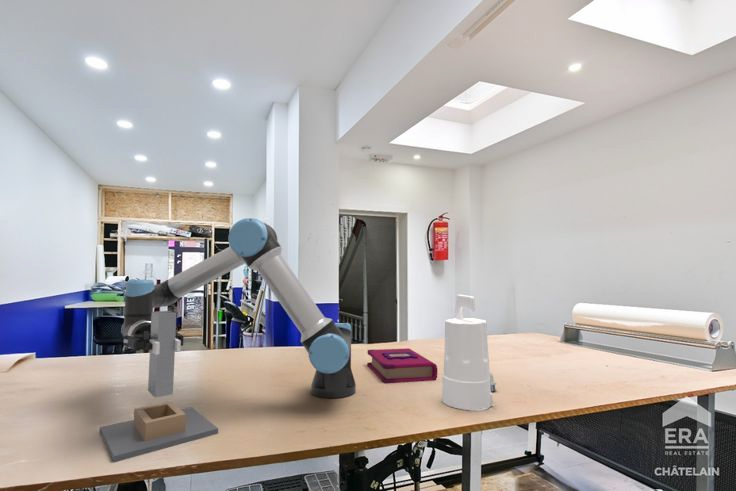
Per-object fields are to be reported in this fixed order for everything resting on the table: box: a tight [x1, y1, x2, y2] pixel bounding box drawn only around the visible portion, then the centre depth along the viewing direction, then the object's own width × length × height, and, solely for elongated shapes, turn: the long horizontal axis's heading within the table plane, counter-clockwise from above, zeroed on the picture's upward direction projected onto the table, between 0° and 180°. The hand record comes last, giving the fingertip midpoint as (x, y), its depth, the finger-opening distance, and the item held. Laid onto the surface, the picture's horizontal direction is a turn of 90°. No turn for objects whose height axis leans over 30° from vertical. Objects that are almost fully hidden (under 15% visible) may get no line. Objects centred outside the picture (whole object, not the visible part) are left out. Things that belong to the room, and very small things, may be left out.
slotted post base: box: [99, 401, 219, 463], centre depth 96 cm, size 22×20×5 cm
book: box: [366, 347, 438, 384], centre depth 156 cm, size 21×28×8 cm
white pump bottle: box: [441, 293, 496, 412], centre depth 122 cm, size 15×15×33 cm
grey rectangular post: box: [147, 310, 177, 398], centre depth 98 cm, size 4×7×20 cm, turn 42°
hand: (168, 347), depth 94 cm, fingers closed on grey rectangular post, 4 cm apart
